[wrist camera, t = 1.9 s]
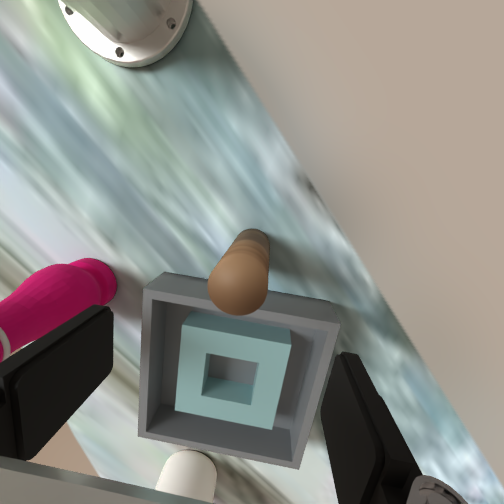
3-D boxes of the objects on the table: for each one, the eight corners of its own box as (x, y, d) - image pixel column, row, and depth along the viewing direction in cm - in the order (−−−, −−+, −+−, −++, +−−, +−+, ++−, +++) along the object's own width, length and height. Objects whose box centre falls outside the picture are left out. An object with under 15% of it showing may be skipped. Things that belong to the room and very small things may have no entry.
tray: (164, 271, 29) (142, 288, 24) (329, 301, 28) (340, 324, 24) (156, 401, 35) (137, 436, 30) (295, 429, 34) (298, 469, 29)
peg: (237, 225, 27) (210, 254, 15) (272, 231, 27) (272, 265, 15) (232, 259, 28) (204, 309, 17) (266, 265, 28) (262, 320, 16)
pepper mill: (128, 269, 30) (-143, 422, 10) (112, 316, 31) (-141, 519, 12) (73, 244, 29) (-311, 352, 10) (61, 293, 31) (-281, 463, 12)
